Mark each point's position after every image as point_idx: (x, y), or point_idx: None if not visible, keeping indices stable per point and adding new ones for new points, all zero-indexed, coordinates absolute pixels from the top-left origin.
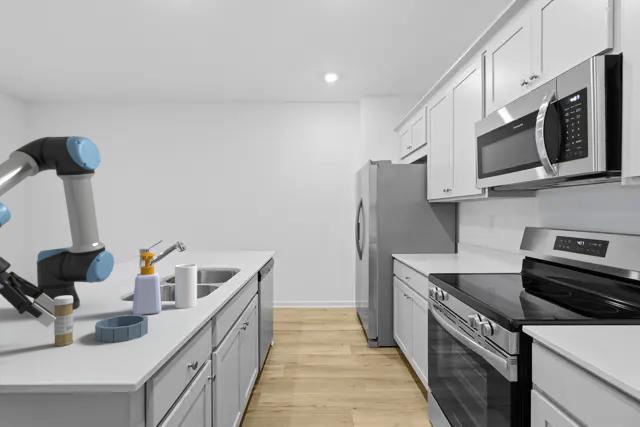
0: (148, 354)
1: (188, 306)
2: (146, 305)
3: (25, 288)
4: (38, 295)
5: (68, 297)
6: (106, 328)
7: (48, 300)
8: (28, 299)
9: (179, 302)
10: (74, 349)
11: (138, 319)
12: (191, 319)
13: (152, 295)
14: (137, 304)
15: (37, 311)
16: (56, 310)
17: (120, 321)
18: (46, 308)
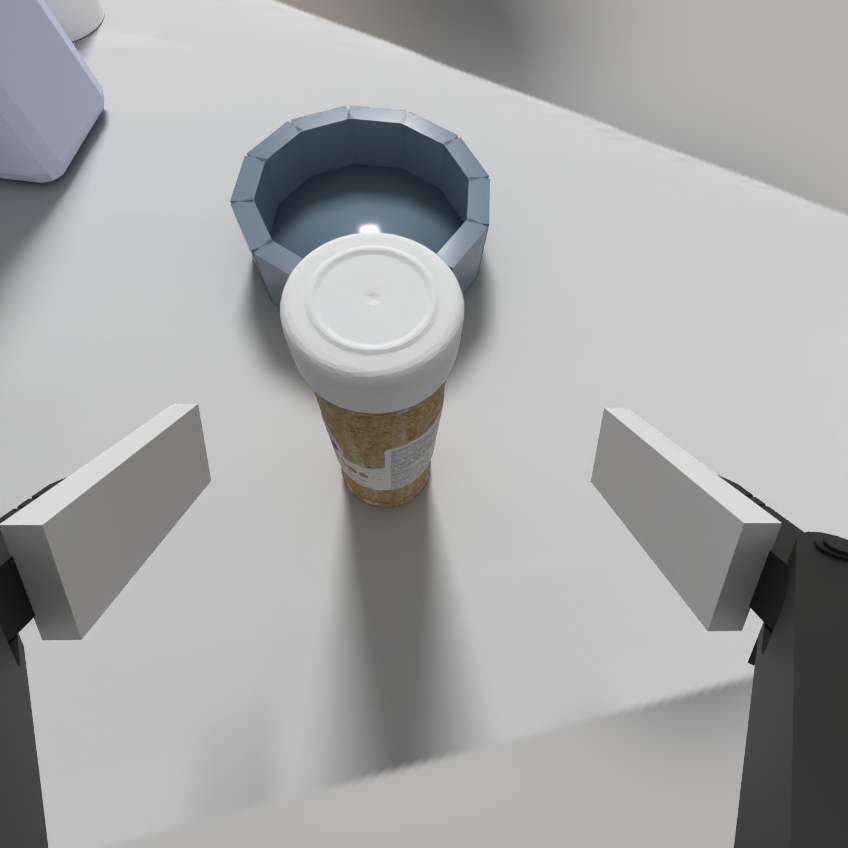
0: (672, 191)
1: (99, 8)
2: (54, 91)
3: (15, 834)
4: (10, 593)
5: (433, 256)
6: (468, 250)
7: (130, 484)
8: (826, 592)
9: (56, 4)
10: (505, 413)
11: (306, 148)
12: (302, 41)
13: (23, 4)
14: (24, 111)
15: (758, 502)
16: (427, 411)
17: (263, 215)
18: (170, 523)
